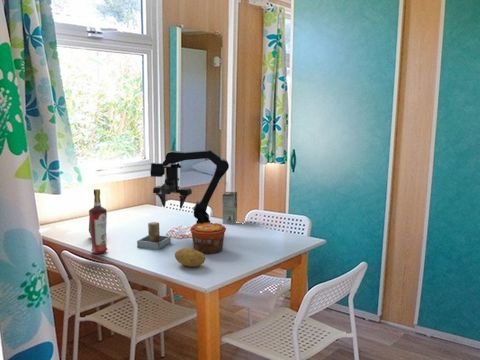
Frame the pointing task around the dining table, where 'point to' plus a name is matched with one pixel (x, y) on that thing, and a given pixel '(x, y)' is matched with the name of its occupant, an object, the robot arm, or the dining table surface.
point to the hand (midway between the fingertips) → (172, 207)
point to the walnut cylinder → (154, 232)
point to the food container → (208, 237)
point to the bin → (153, 245)
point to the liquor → (98, 225)
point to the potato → (189, 257)
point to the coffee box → (229, 207)
